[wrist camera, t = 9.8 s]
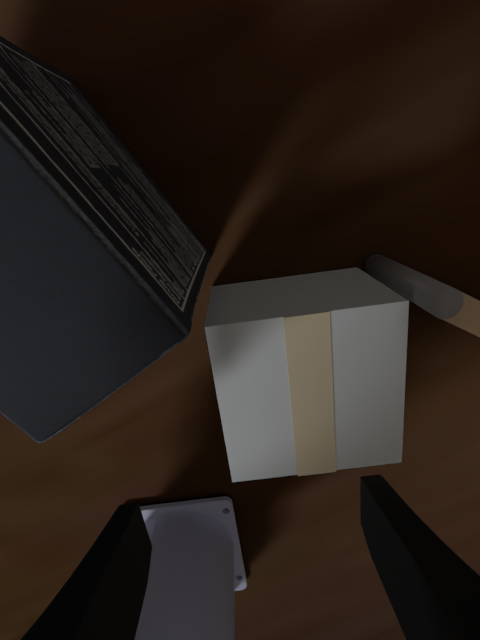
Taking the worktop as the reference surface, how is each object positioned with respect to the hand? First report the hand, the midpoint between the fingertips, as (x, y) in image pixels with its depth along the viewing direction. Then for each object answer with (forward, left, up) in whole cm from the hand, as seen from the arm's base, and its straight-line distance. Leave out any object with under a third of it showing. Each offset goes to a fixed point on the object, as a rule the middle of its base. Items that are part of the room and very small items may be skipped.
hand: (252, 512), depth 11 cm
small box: (+9, +6, -11) cm, 15 cm away
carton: (+1, -3, -10) cm, 11 cm away
